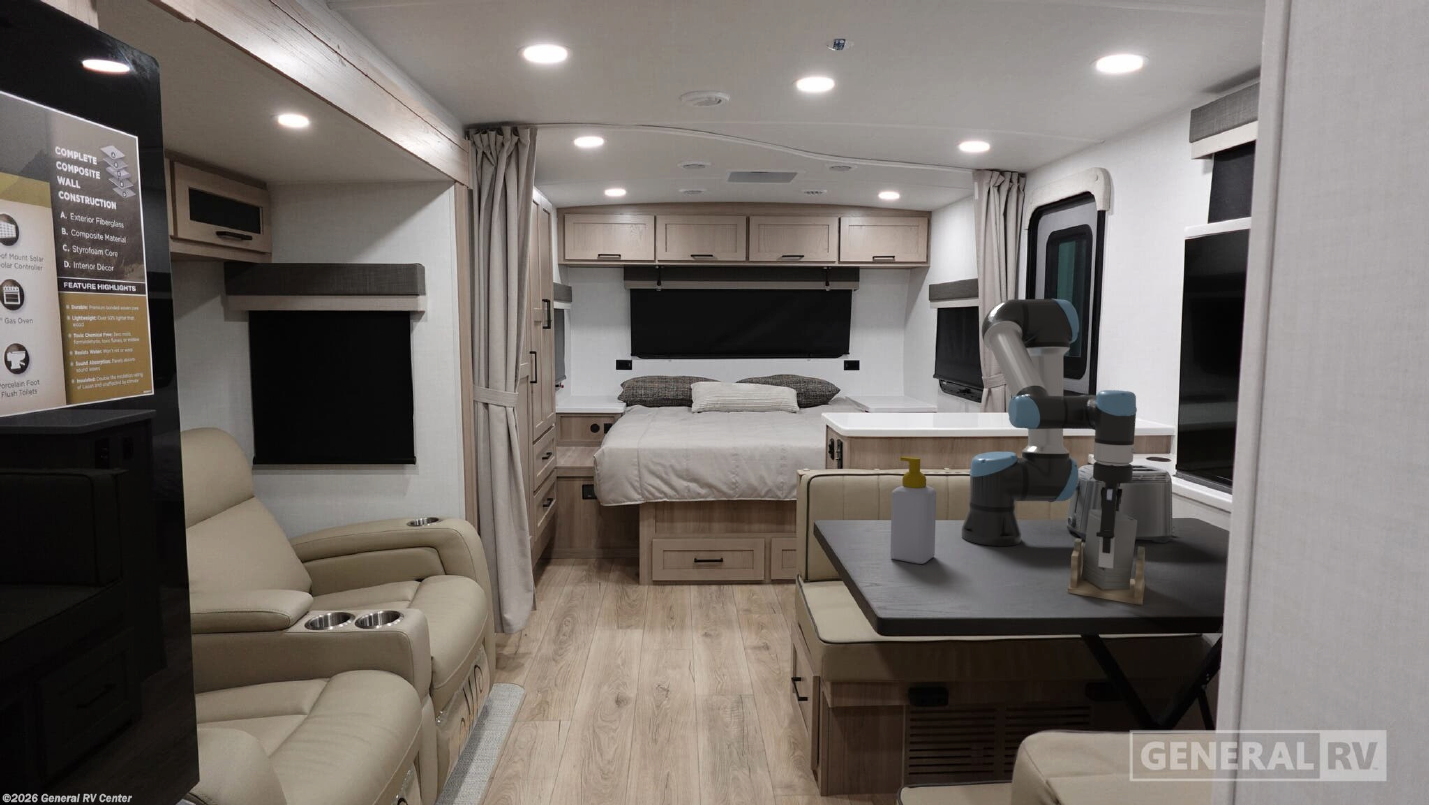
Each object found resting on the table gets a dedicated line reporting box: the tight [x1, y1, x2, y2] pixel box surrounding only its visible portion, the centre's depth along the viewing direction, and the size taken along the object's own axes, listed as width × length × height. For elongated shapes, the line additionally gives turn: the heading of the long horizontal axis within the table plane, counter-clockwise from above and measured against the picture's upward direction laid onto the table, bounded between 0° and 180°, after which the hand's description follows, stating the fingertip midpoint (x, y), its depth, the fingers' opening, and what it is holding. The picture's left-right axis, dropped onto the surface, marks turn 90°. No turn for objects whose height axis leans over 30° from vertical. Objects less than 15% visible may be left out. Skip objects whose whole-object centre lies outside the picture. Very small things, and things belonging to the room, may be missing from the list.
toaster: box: [1065, 464, 1175, 544], centre depth 204 cm, size 17×30×19 cm, turn 87°
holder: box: [1067, 537, 1146, 606], centre depth 164 cm, size 14×14×10 cm
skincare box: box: [1081, 509, 1137, 590], centre depth 164 cm, size 8×7×16 cm
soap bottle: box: [889, 456, 937, 565], centre depth 186 cm, size 9×9×25 cm
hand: (1108, 558), depth 164 cm, fingers open, 13 cm apart
